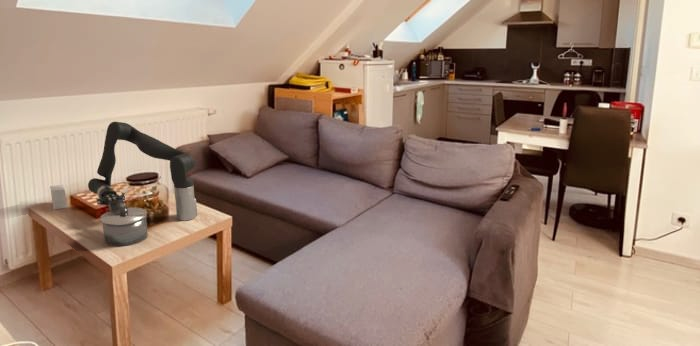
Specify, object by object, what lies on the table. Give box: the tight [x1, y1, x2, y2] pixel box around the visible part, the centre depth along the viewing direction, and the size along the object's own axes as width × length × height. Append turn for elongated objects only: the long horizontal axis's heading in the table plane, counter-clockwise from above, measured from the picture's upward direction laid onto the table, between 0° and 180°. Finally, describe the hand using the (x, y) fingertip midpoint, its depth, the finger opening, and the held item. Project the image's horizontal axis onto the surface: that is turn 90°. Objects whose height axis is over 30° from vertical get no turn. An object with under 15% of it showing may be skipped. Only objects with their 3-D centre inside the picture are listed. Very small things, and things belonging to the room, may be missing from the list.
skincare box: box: [49, 184, 68, 210], centre depth 250 cm, size 10×6×10 cm, turn 35°
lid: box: [99, 199, 148, 225], centre depth 212 cm, size 19×24×4 cm
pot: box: [101, 216, 149, 247], centre depth 212 cm, size 18×18×10 cm
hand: (115, 204), depth 220 cm, fingers closed
